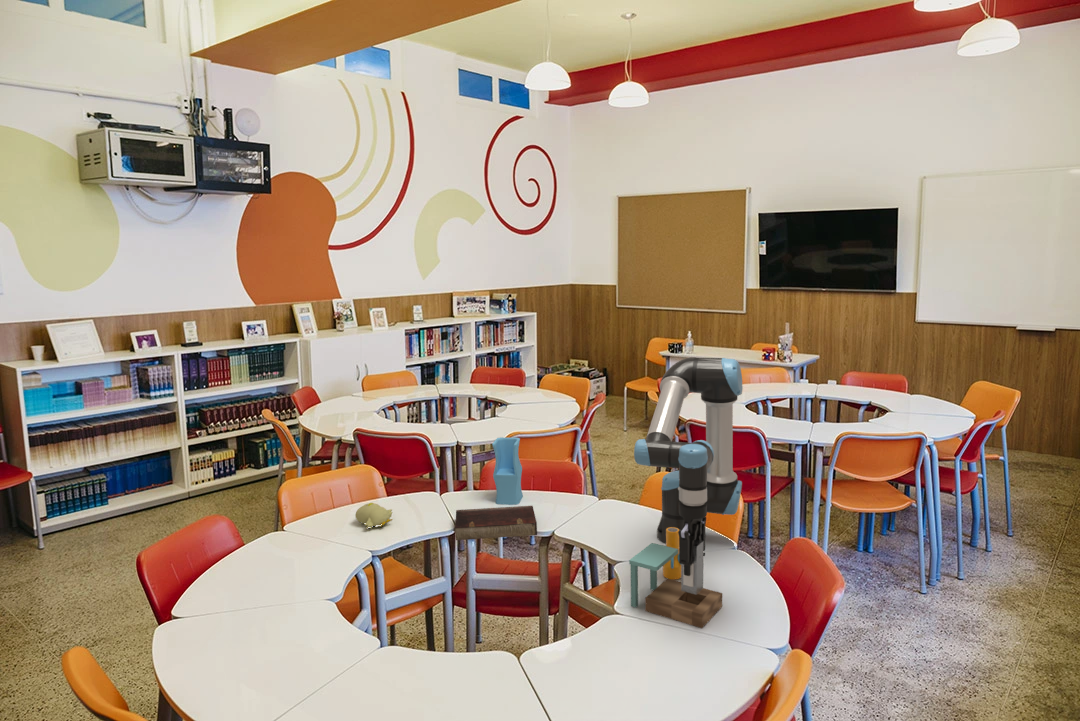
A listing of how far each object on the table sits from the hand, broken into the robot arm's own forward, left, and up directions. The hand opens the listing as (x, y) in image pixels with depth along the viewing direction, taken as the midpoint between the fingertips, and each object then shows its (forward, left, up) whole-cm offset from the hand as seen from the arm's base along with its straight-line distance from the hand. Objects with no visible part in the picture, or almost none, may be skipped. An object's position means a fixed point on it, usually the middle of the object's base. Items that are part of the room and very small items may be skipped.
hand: (692, 581), depth 201 cm
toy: (+4, -128, -9) cm, 128 cm away
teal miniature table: (0, -12, -9) cm, 15 cm away
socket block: (0, -3, -9) cm, 9 cm away
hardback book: (-18, -86, -10) cm, 88 cm away
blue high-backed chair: (-43, -99, -9) cm, 108 cm away
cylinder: (-17, -14, -9) cm, 24 cm away
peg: (0, 0, -2) cm, 2 cm away
